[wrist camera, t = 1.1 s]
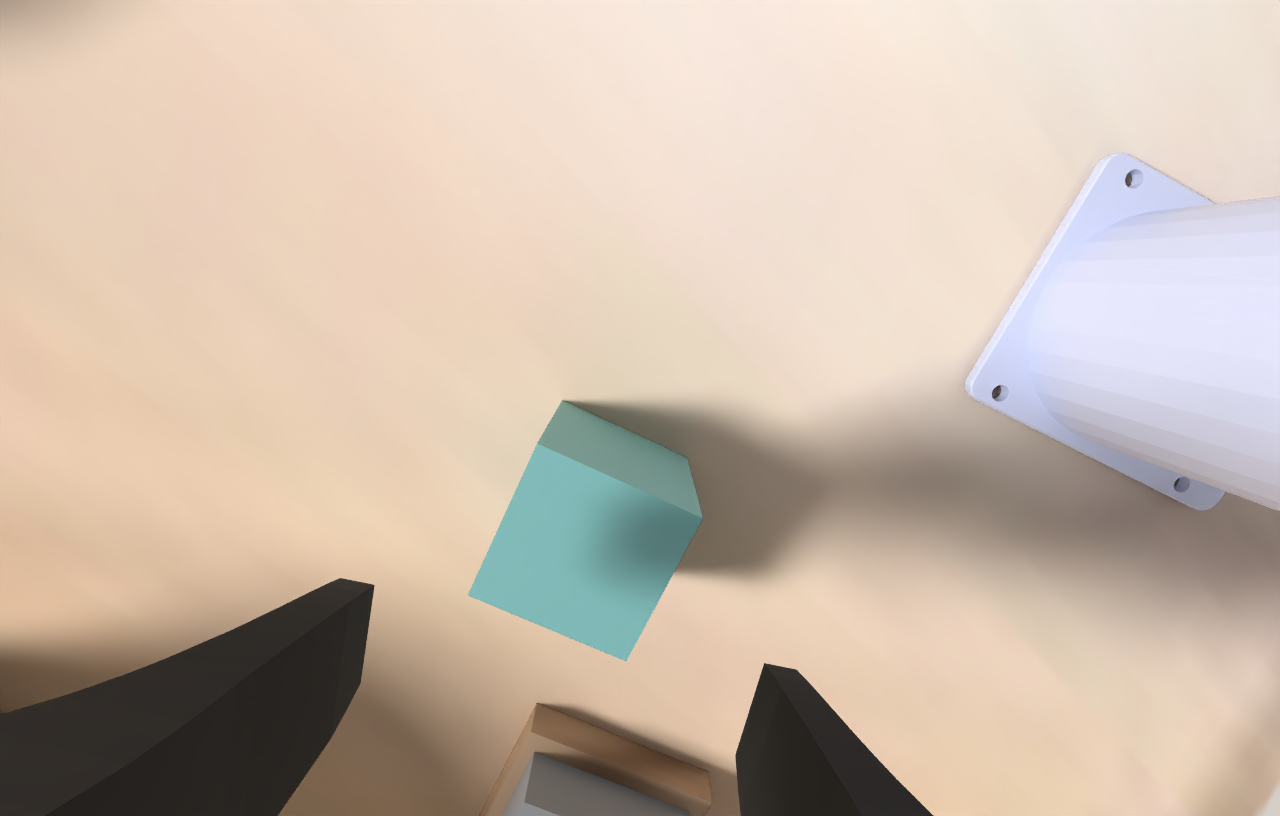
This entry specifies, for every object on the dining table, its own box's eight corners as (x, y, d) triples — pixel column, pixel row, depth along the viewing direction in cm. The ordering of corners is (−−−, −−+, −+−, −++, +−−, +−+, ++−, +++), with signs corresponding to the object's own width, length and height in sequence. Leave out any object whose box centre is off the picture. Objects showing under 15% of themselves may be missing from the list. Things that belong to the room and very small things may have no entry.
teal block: (687, 456, 20) (702, 518, 15) (628, 569, 21) (626, 660, 16) (562, 399, 19) (537, 443, 14) (508, 516, 20) (467, 595, 15)
